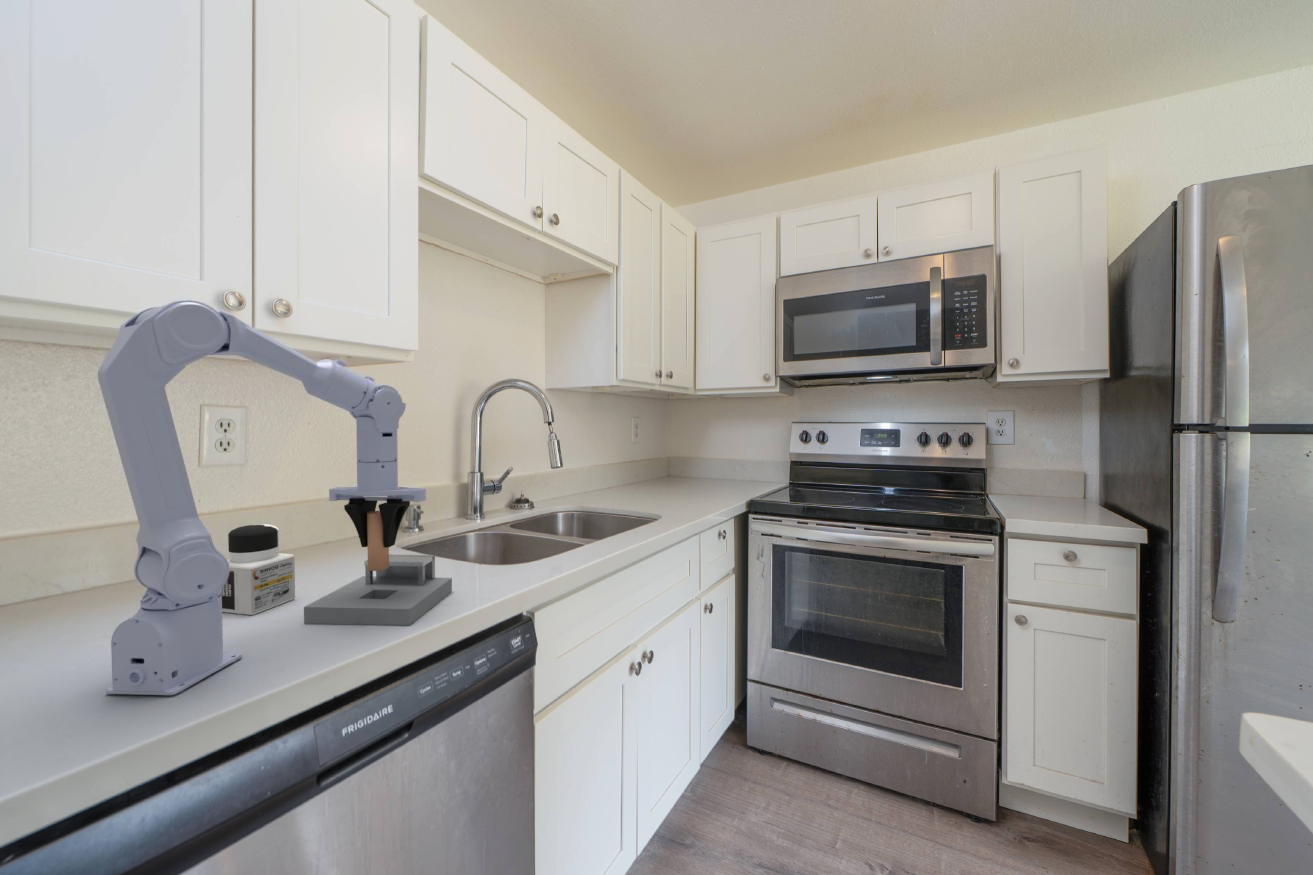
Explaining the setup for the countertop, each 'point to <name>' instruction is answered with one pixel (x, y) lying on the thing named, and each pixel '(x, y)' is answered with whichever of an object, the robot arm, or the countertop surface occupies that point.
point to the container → (257, 571)
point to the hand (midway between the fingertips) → (378, 545)
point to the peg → (376, 543)
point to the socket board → (378, 602)
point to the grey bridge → (405, 568)
